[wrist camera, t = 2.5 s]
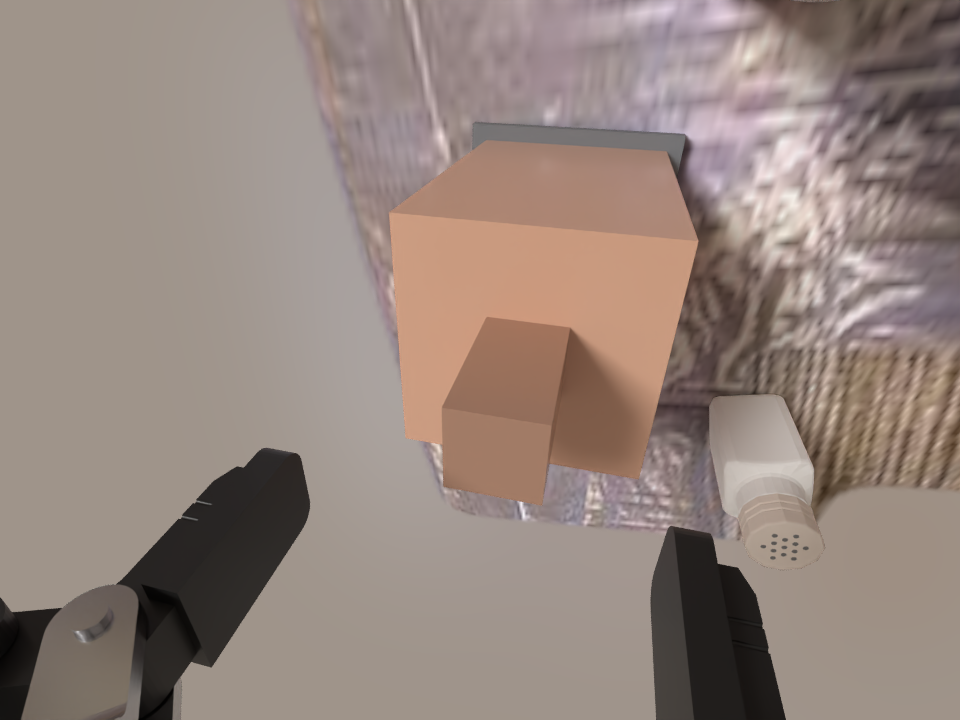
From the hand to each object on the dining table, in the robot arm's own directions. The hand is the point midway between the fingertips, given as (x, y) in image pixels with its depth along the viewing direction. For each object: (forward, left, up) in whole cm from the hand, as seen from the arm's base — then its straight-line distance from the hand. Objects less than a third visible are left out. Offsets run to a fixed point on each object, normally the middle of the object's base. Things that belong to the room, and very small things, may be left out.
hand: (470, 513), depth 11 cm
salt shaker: (-2, +16, -20) cm, 26 cm away
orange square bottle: (0, 0, -19) cm, 19 cm away
